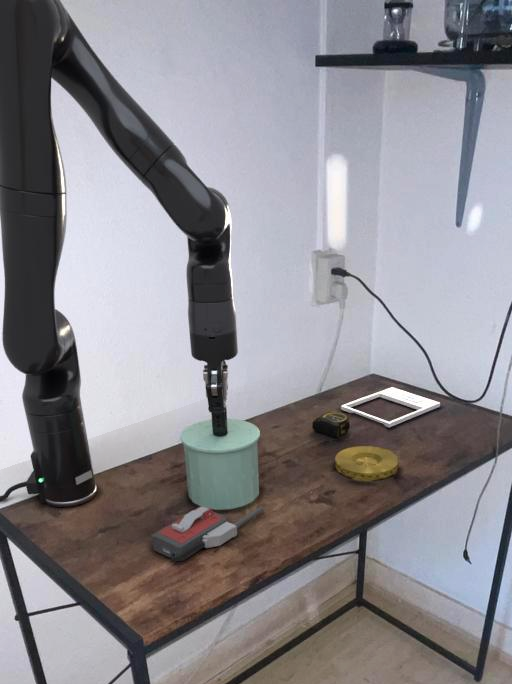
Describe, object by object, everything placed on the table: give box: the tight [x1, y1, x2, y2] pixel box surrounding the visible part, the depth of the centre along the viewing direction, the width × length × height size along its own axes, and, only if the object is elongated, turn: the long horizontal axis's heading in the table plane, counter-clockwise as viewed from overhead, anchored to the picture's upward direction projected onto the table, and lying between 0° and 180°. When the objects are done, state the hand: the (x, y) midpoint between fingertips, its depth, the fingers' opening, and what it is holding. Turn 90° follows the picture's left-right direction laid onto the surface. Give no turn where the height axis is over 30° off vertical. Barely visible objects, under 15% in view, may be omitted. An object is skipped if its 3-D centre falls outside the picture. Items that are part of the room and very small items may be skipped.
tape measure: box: [312, 411, 351, 439], centre depth 147 cm, size 7×7×4 cm
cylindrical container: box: [183, 441, 260, 511], centre depth 121 cm, size 13×13×12 cm
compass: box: [334, 445, 399, 482], centre depth 132 cm, size 12×12×2 cm
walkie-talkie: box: [151, 506, 264, 562], centre depth 111 cm, size 9×4×20 cm
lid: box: [180, 405, 261, 453], centre depth 117 cm, size 14×14×6 cm
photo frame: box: [340, 386, 441, 428], centre depth 159 cm, size 15×1×18 cm
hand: (219, 427), depth 118 cm, fingers open, 3 cm apart
